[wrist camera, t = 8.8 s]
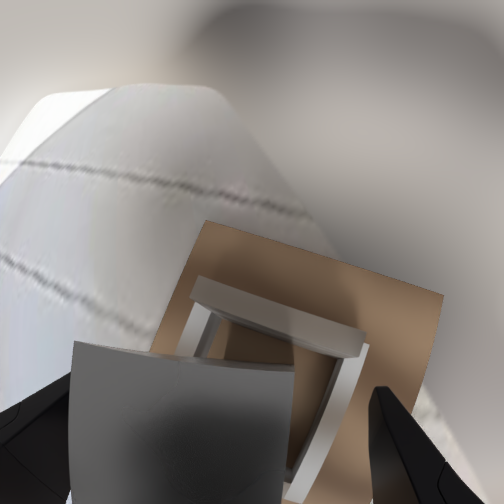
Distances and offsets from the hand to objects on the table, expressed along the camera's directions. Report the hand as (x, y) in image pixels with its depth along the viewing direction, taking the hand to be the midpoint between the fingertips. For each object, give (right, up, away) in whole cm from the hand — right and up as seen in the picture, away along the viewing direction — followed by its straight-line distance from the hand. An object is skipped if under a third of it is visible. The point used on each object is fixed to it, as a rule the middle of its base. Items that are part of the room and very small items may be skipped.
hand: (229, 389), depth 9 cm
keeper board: (+1, -7, +7) cm, 10 cm away
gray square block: (+1, -4, +7) cm, 8 cm away
